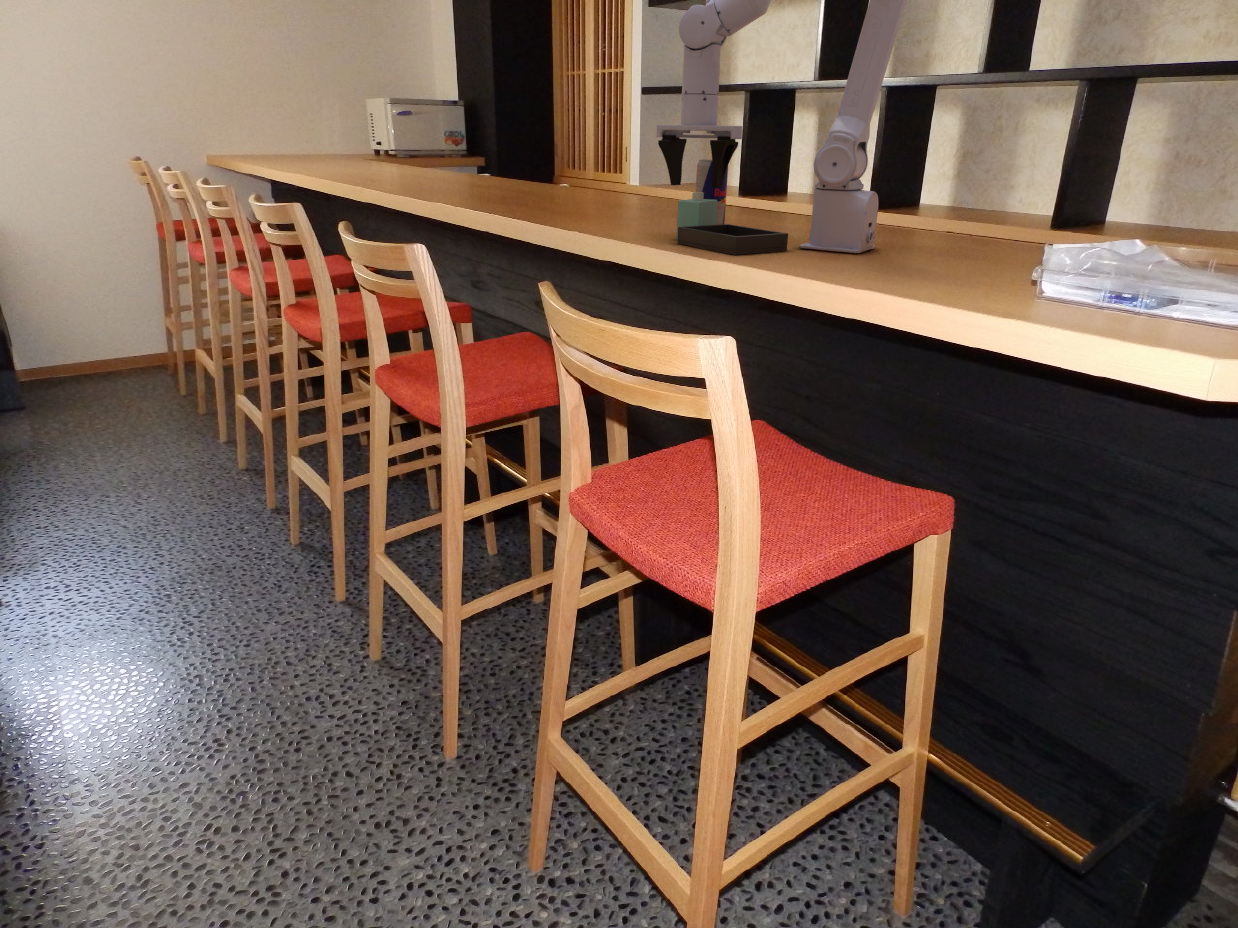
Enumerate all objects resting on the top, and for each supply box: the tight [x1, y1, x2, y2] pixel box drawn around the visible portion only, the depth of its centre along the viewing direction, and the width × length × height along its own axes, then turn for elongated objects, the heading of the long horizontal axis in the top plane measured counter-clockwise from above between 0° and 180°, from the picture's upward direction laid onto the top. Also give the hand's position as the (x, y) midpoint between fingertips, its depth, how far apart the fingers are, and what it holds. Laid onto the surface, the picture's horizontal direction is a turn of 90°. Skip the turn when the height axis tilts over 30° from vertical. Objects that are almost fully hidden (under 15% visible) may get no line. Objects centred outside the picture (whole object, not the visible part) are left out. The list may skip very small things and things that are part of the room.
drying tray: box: [676, 223, 789, 256], centre depth 130 cm, size 14×10×3 cm
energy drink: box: [695, 158, 729, 225], centre depth 146 cm, size 5×5×12 cm
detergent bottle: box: [675, 191, 717, 241], centre depth 137 cm, size 4×6×7 cm, turn 146°
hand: (695, 186), depth 136 cm, fingers open, 7 cm apart
